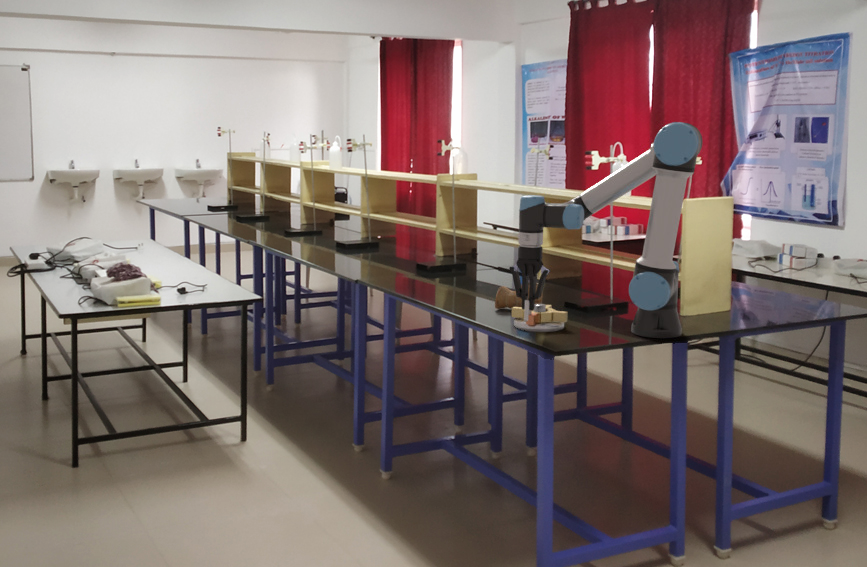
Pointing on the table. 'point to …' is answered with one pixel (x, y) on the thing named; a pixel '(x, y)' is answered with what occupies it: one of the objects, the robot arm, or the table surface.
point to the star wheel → (541, 315)
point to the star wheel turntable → (540, 326)
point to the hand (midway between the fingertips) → (527, 319)
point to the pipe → (511, 298)
